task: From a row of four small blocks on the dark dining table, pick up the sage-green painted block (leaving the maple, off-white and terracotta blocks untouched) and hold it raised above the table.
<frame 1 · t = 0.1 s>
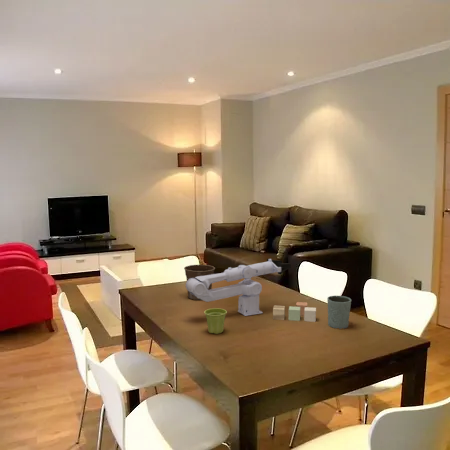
hand: (286, 264, 224), 22 cm above the table, tool horizontal, fingers open, 7 cm apart
plant pot 2: (215, 332, 193), on the table
plant pot: (199, 297, 245), on the table
blue-grey tapered cup: (338, 325, 200), on the table
sage block: (294, 318, 209), on the table
offwhite block: (310, 319, 208), on the table
maple block: (278, 318, 211), on the table
terracotta block: (301, 314, 216), on the table
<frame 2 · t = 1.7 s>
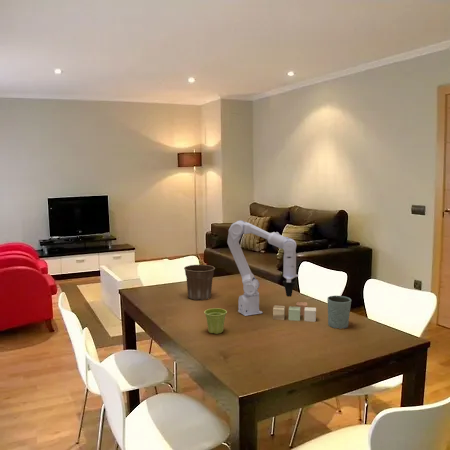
hand: (289, 294, 214), 10 cm above the table, tool pointing down, fingers open, 7 cm apart
nothing on the table moved.
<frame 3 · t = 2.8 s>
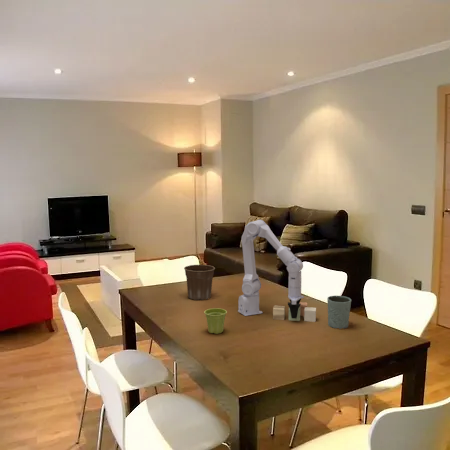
hand: (294, 315, 209), 1 cm above the table, tool pointing down, fingers open, 7 cm apart
terracotta block: (301, 314, 216), on the table, touching gripper
everything else where it was.
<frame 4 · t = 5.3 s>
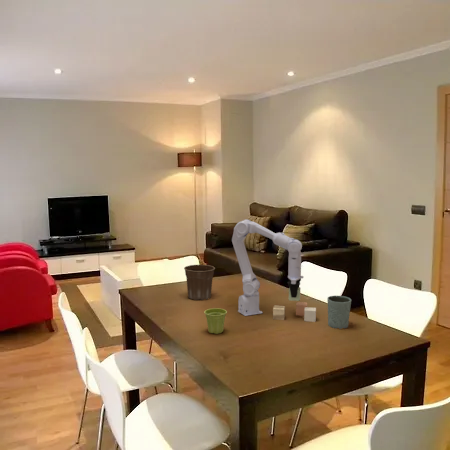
hand: (294, 295, 212), 10 cm above the table, tool pointing down, fingers closed on sage block, 5 cm apart
sage block: (294, 299, 212), point 8 cm above the table, touching gripper
terracotta block: (301, 314, 216), on the table
everything else where it was.
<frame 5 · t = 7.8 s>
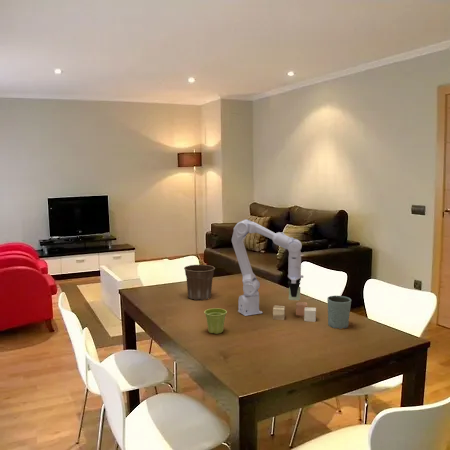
hand: (294, 295, 212), 10 cm above the table, tool pointing down, fingers closed on sage block, 5 cm apart
sage block: (294, 298, 212), point 8 cm above the table, touching gripper
everything else where it was.
at the end: the gripper is holding sage block; sage block point 8.2 cm above the table; maple block moved 0.1 cm from its start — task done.
